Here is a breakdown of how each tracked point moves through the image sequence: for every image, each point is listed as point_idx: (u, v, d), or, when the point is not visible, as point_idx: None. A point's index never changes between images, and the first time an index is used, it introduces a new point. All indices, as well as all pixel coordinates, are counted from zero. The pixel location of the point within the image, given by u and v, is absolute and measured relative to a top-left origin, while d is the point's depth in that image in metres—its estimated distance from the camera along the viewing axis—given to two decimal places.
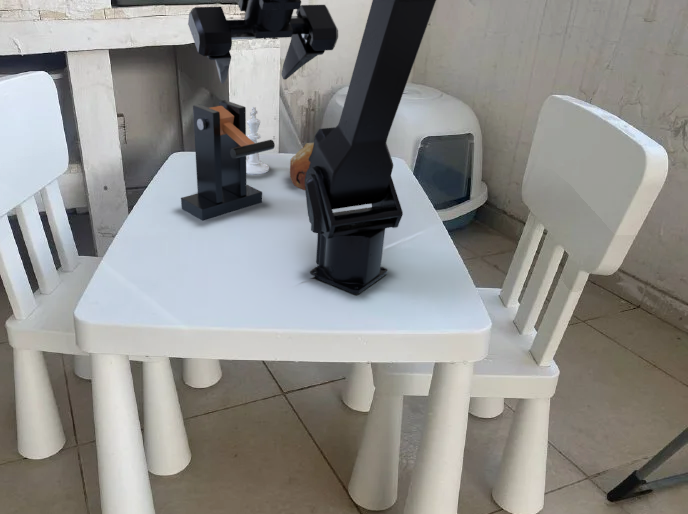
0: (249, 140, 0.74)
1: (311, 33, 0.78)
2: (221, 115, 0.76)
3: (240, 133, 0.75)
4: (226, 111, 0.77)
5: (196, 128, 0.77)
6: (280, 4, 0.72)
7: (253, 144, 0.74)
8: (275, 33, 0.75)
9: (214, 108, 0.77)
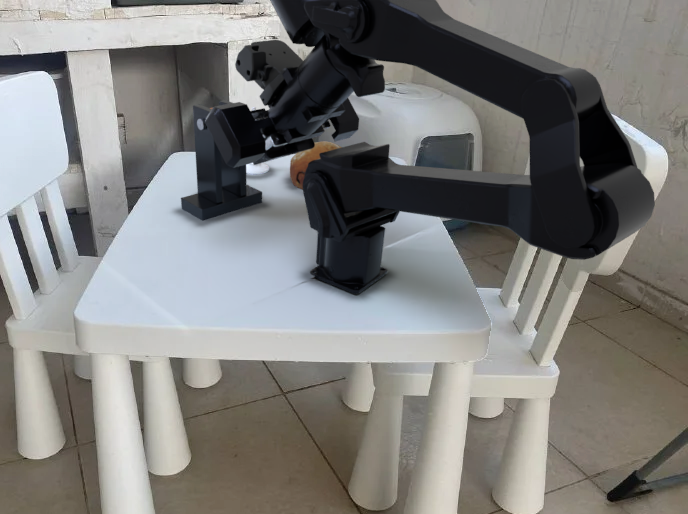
0: None
1: (336, 126, 0.70)
2: None
3: None
4: None
5: (196, 128, 0.77)
6: (325, 115, 0.63)
7: None
8: (308, 136, 0.66)
9: None
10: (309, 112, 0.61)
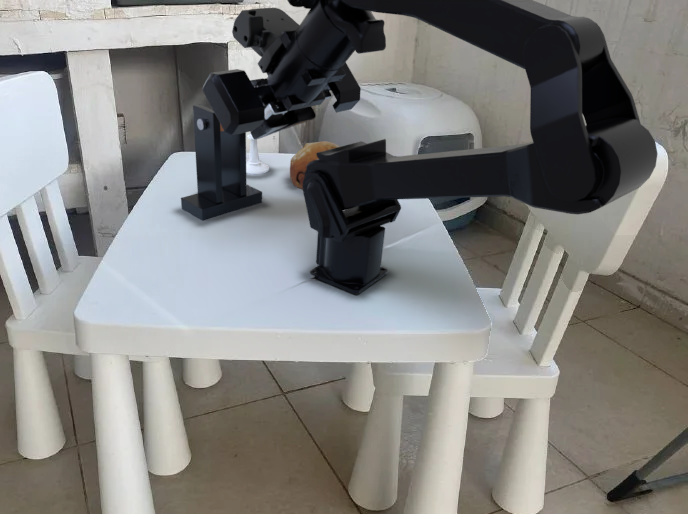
0: None
1: (337, 96, 0.68)
2: None
3: None
4: None
5: (196, 128, 0.77)
6: (326, 79, 0.61)
7: None
8: (308, 103, 0.64)
9: None
10: (309, 74, 0.59)
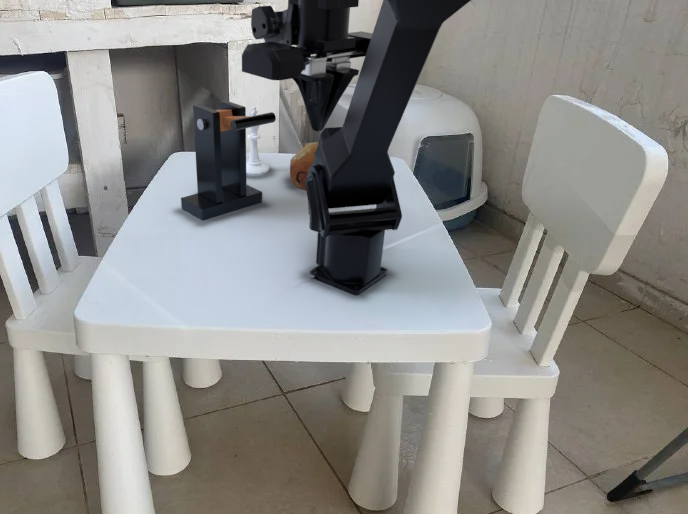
0: (248, 116, 0.73)
1: (369, 45, 0.70)
2: (218, 111, 0.76)
3: (239, 116, 0.74)
4: None
5: (196, 128, 0.77)
6: (341, 1, 0.64)
7: (252, 116, 0.72)
8: (340, 42, 0.66)
9: None
10: None
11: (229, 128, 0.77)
